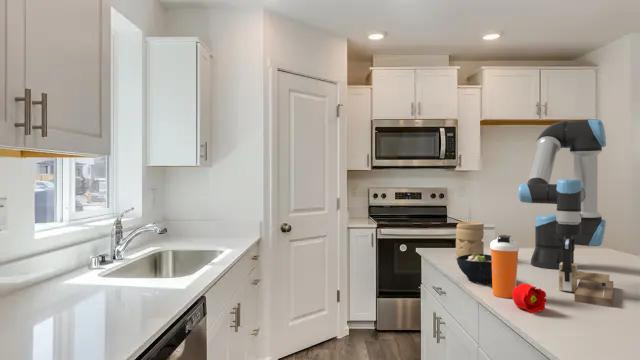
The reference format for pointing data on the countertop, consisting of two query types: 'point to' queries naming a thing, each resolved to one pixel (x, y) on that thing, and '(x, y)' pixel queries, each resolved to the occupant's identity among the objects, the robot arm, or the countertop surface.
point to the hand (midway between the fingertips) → (568, 288)
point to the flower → (529, 298)
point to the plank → (594, 293)
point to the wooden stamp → (581, 277)
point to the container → (469, 238)
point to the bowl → (476, 267)
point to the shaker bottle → (504, 265)
